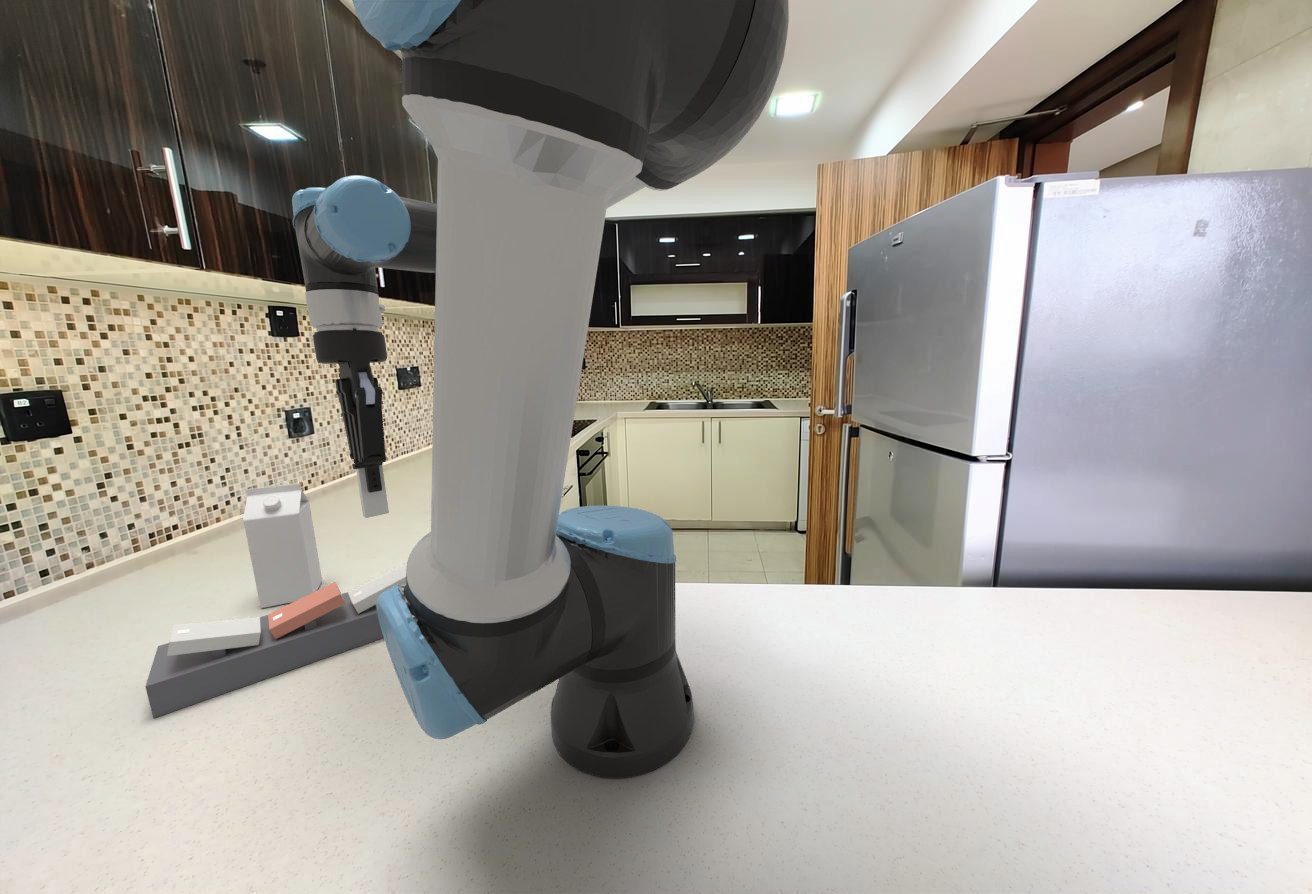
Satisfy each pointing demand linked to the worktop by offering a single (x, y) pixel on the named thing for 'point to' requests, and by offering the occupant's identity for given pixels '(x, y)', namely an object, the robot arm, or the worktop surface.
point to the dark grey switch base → (256, 658)
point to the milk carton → (281, 544)
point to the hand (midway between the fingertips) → (376, 514)
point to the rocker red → (305, 610)
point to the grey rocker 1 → (214, 635)
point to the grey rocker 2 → (376, 588)
